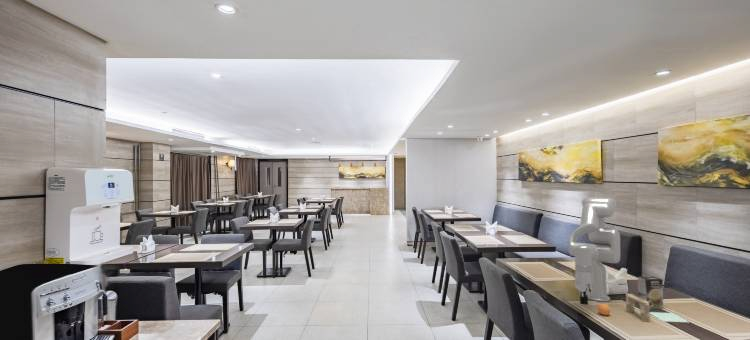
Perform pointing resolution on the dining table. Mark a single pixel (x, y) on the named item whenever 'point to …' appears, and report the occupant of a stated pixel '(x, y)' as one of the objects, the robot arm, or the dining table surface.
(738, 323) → the dining table surface
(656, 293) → the coffee box
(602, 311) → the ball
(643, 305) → the bridge
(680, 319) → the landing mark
